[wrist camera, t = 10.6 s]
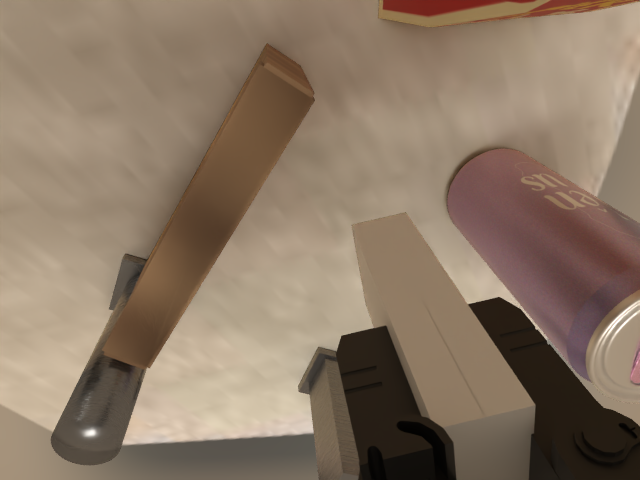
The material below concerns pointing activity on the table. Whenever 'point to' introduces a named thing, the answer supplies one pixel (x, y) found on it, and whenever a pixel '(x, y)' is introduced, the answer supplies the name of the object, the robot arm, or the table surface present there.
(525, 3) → the milk carton
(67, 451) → the hinge post
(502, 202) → the beverage can
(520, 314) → the robot arm
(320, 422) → the stile
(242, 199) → the gate
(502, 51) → the table surface
